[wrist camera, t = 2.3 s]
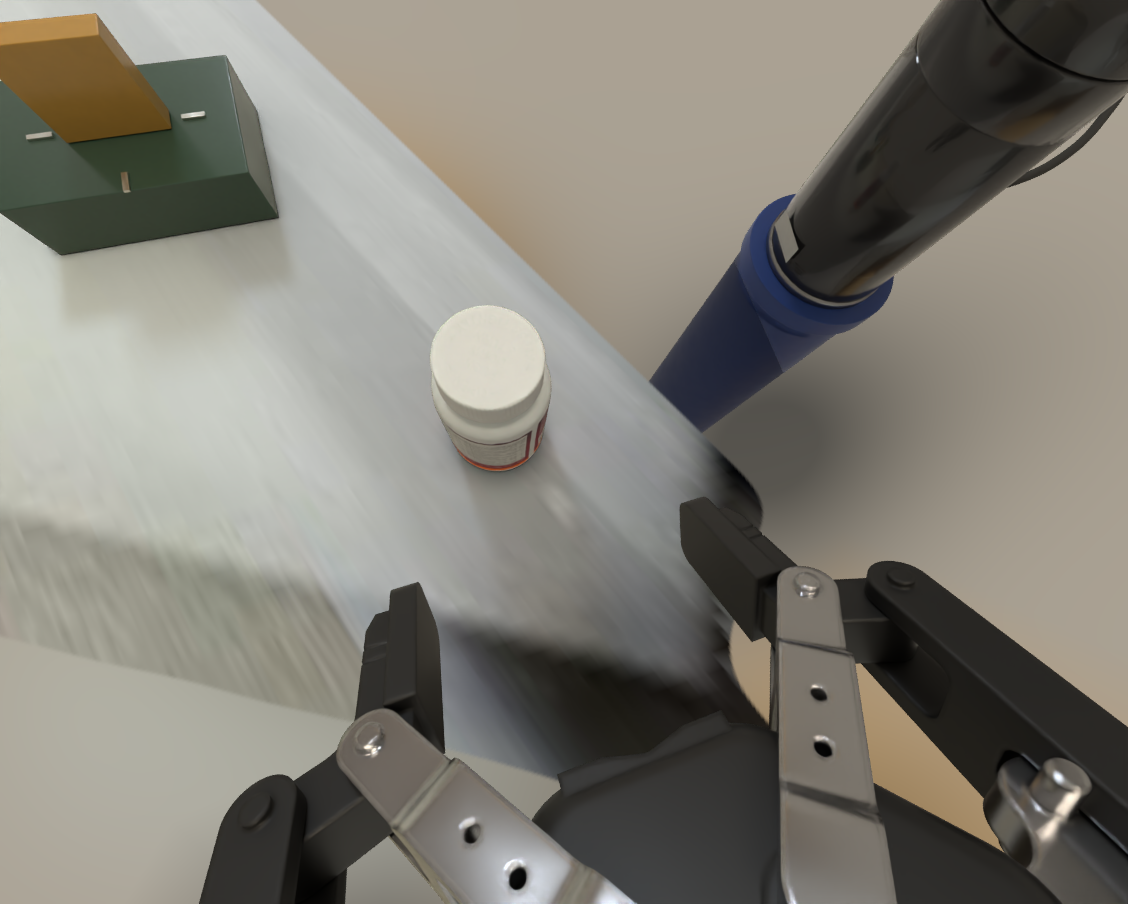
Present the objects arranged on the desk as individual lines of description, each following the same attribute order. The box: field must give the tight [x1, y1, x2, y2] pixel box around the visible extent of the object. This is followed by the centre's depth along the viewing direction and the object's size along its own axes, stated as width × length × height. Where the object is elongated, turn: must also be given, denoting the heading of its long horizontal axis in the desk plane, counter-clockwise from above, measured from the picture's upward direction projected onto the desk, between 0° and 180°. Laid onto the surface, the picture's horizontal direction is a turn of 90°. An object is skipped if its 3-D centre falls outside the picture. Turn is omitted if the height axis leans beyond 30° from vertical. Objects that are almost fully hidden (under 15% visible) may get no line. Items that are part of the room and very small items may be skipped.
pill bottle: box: [430, 306, 551, 471], centre depth 26 cm, size 6×6×11 cm
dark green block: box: [0, 55, 278, 255], centre depth 32 cm, size 14×10×4 cm
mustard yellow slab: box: [0, 13, 171, 143], centre depth 27 cm, size 6×2×6 cm, turn 108°
